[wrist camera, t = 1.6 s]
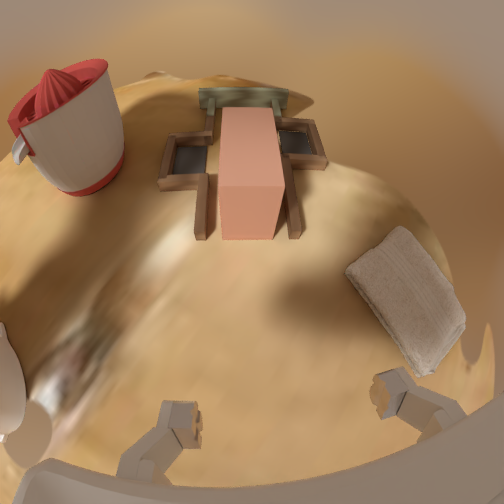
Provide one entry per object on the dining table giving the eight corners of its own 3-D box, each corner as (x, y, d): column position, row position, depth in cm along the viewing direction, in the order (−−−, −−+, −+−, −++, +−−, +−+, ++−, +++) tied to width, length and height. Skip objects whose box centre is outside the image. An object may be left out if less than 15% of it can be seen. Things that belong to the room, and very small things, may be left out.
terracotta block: (222, 240, 33) (218, 186, 24) (224, 162, 38) (222, 107, 29) (272, 239, 33) (285, 186, 24) (265, 162, 39) (272, 108, 30)
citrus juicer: (36, 194, 35) (-19, 112, 17) (101, 130, 42) (71, 43, 24) (76, 234, 32) (-2, 130, 14) (154, 153, 39) (127, 39, 21)
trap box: (152, 241, 32) (142, 224, 28) (181, 106, 45) (178, 89, 41) (340, 239, 33) (351, 222, 30) (304, 107, 46) (308, 90, 43)
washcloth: (417, 383, 26) (431, 382, 23) (337, 273, 32) (346, 263, 29) (461, 324, 29) (475, 319, 26) (392, 230, 35) (402, 219, 32)
